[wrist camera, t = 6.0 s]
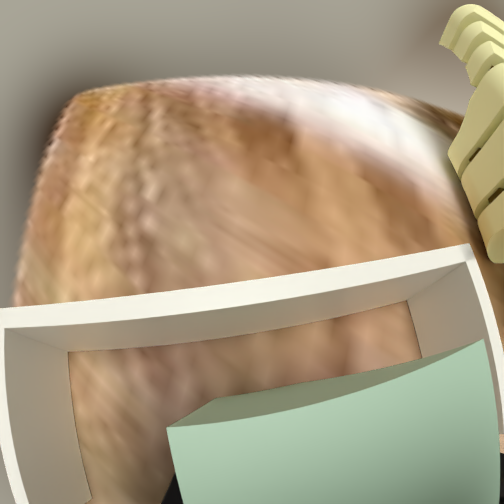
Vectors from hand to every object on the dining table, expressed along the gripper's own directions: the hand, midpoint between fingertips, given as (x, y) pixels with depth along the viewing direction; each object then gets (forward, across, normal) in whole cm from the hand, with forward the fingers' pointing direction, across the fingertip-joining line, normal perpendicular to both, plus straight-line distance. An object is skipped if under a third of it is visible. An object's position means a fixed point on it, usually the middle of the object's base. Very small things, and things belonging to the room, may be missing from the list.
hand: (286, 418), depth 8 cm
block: (+4, 0, +6) cm, 7 cm away
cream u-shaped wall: (+6, 0, +7) cm, 9 cm away
